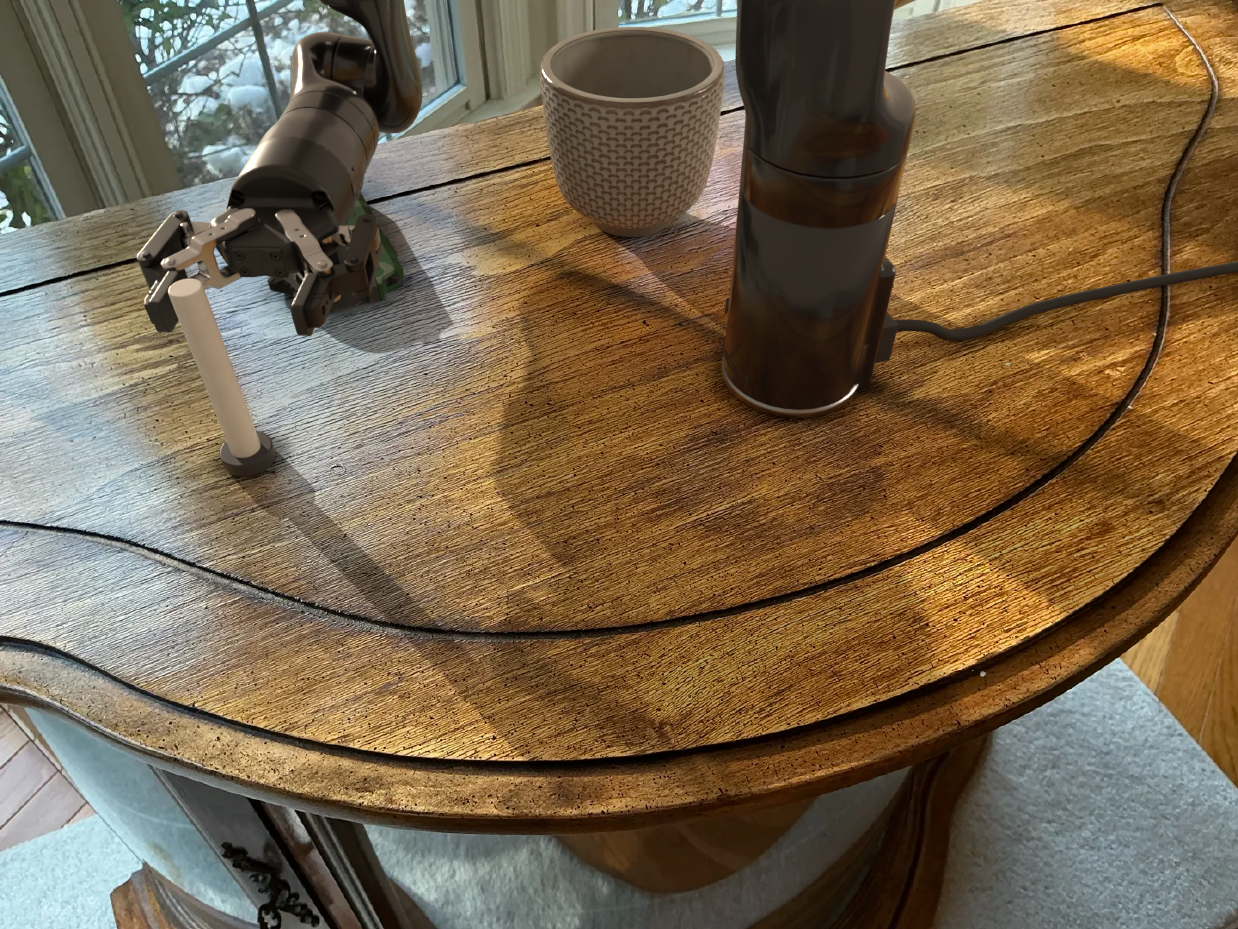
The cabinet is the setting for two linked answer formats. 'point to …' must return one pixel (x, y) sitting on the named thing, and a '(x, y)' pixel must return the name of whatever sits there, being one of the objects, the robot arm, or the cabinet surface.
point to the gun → (386, 272)
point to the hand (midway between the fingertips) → (229, 322)
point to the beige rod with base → (220, 382)
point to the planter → (632, 124)
